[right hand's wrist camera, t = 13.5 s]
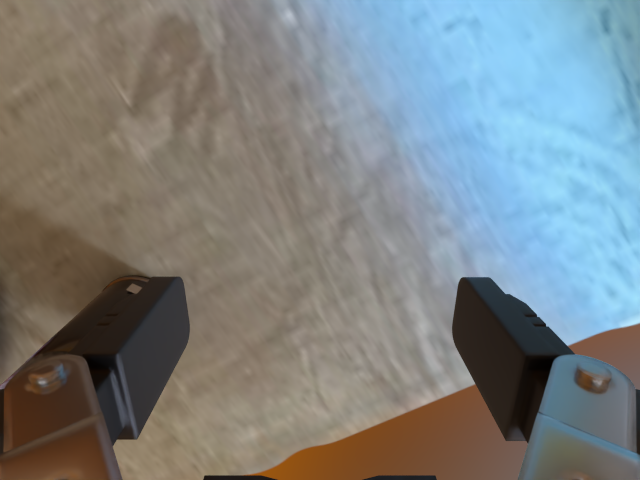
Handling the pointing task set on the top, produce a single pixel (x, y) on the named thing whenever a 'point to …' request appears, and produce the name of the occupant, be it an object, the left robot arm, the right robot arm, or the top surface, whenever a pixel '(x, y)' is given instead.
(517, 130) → the top surface
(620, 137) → the top surface
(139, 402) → the right robot arm
